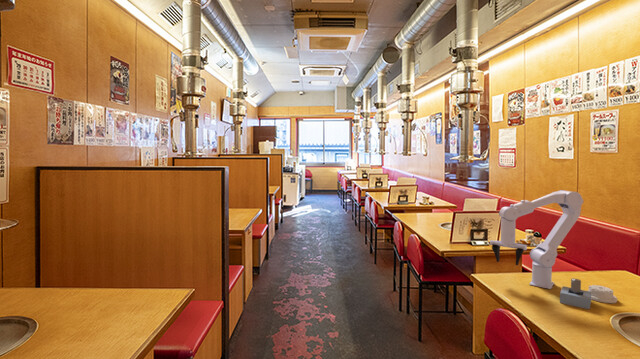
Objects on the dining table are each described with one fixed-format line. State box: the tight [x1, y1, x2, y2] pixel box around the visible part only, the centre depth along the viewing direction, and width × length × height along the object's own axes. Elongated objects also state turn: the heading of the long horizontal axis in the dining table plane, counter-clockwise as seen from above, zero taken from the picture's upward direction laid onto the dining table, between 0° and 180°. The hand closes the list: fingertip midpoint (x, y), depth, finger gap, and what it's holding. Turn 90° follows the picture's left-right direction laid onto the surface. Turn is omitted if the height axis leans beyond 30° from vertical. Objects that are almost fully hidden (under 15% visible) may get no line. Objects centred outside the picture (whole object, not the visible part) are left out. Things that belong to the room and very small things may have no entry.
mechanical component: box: [588, 284, 618, 304], centre depth 131 cm, size 10×4×10 cm
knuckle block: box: [559, 285, 592, 310], centre depth 127 cm, size 9×9×4 cm
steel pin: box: [570, 278, 582, 295], centre depth 127 cm, size 3×3×9 cm
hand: (507, 263), depth 147 cm, fingers open, 7 cm apart
